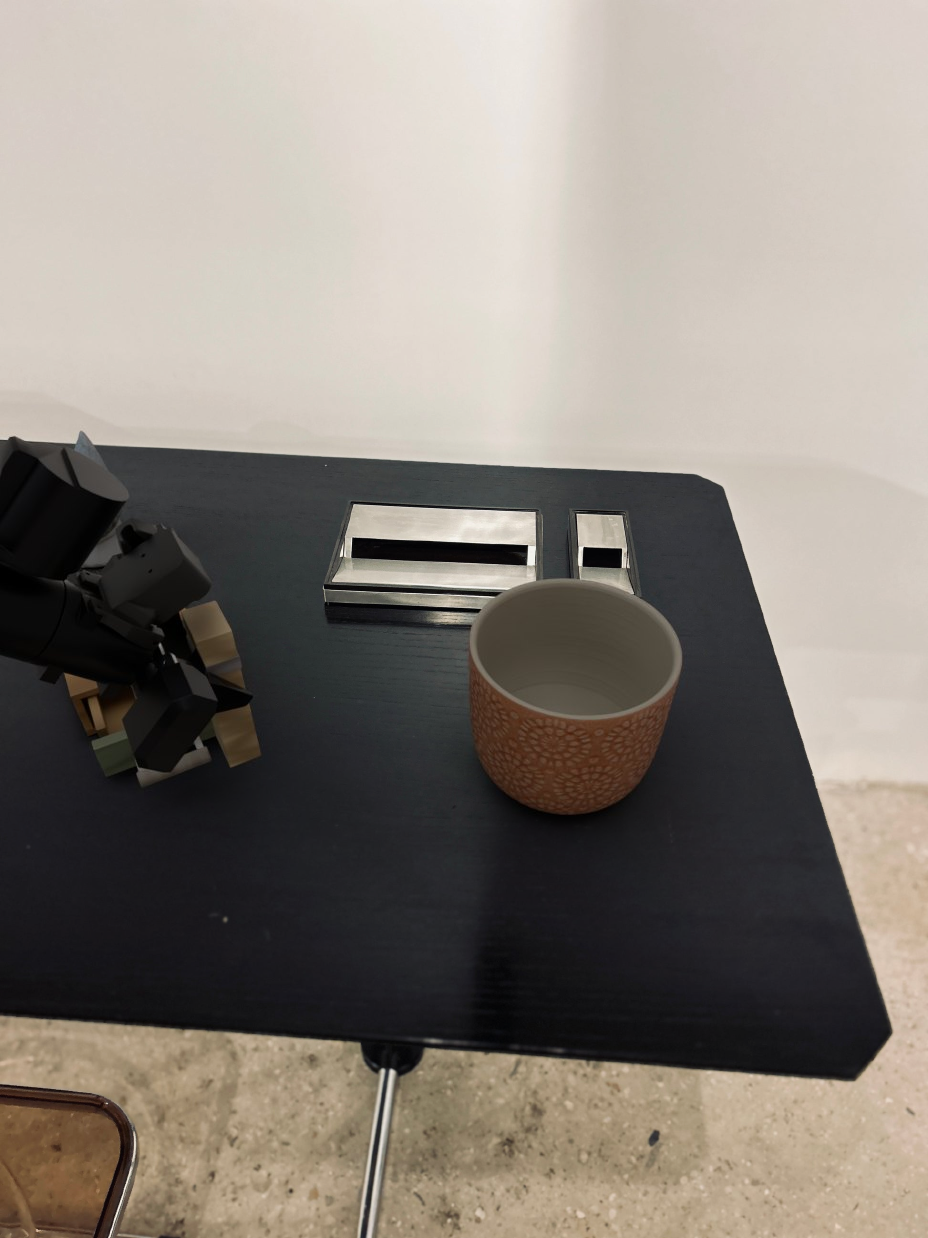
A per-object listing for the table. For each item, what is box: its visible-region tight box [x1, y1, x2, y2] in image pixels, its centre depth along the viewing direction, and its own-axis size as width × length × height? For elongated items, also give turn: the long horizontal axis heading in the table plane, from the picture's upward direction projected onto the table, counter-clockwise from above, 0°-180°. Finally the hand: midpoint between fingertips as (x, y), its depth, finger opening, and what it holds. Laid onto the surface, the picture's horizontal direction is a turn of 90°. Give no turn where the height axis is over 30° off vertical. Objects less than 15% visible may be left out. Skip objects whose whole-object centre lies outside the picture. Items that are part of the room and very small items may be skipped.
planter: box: [468, 577, 683, 816], centre depth 67 cm, size 17×17×15 cm
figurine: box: [73, 430, 124, 569], centre depth 92 cm, size 10×9×15 cm
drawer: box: [87, 685, 216, 789], centre depth 73 cm, size 18×11×4 cm, turn 30°
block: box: [181, 600, 262, 768], centre depth 60 cm, size 3×4×14 cm, turn 30°
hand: (240, 683), depth 61 cm, fingers closed on block, 4 cm apart
